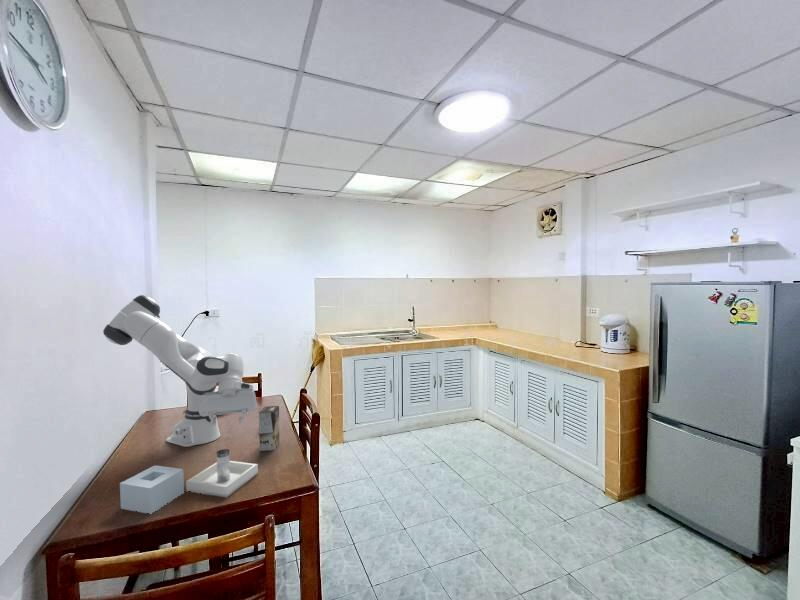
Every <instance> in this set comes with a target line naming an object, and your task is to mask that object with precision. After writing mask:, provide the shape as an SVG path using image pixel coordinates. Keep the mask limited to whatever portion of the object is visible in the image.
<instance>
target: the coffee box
mask: <svg viewBox="0 0 800 600" xmlns="http://www.w3.org/2000/svg"><path fill="white" fill-rule="evenodd" d="M258 429H259V432H258V434H259V436H258V437H259V439H258V441H259V451H260V452H261V451H265V452H266V451H275V450H276V449H277V446H278V445H279V444H280V442H281V441H280V440H281V439H280V438H281V434H280V431H281V429H280V405H270V406H264V407H263V408H262V409H261V410H260V411H259V412H258Z"/></svg>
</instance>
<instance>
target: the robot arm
mask: <svg viewBox="0 0 800 600" xmlns="http://www.w3.org/2000/svg"><path fill="white" fill-rule="evenodd" d="M160 312H161V308H160V306H159V304H158V303H157V301H156V300H155V299H154V298H152V297H150V296H146V295H144V294H143V295H142V294H140V295H138V296H136V297H134V298H132V301H130V302H128V303H127V304H126V305H125V306H124V307H123V308H122V309H121V310H119V312H118V313H117V314H116V315H115V316H114V317H113V319H112V320H111V321H110V322H109V323H108V324H106V325H105V327H104V329H103V331H102V333H103V335H104V337H105V338H106V339H107V340H108V341H109V342H110V343H111V344H114V345H119V346H124V345H128V344H130V343H131V342H133V339H134V341H136V342H137V343H139V344H140V345H141V346H143V347H144V348H146V349H147V350H149V352H150V353H152V354H153V355H154V356H155V357H156V358H157V359H158V360H159V361H160V362H161V363H162V364H163V365H164V366H165V367H166V368H167V369H169V370H170V371H171V372H172V373H173V374H175V375H176V376H177V377H179V378H180V379H181V380H182V381H183V382H184V383H185V388H186V396H187V408H186V409H185V410H183V411H182V415H183V414H185V415H184V418H182V419H181V420H180V421H178V422H177V423H176V424H174V427H173V428H172V434H171V435H170V436H168V437H167V438H166V442H167V443H170V444H173V445H178V446H181V447H184V448H185V447H186V448H187V447H193V446H196V445H203V444H208V443H210V442H213V441H216V440H217V439H219V438H220V437H221V433H220V428H219V424H218V419H217V416H221V415H231V414H239V413H242V415H240V416H238V423H239V424H240V423H241V424H242V423H244V418H245V417H246V416H247V414H248V413H249V412H250V413H251V412H255V411H256V410H257V409H258V402H257V398H256V397H257V396H256V392H255V389H254V385H253V384H251V383H247V382H243V377H244V361H243V358H242V357H241V356H240V355H239V354H238V353H237V354H236V353H235V352H234V353H232V352H230V353H226V354H224V355H221V356H215V355H214V353H212V351H211V352H210V351H208V350H207V349H205V348H203V347H201V346H199V345H197V344H195V343H193V342H192V341H189V340H187V339H186V338H185V337H182V335H180V334H179V333H177V332H175V330H174V329H172V327H170V326H169V325H168V324H166V323H165V322H164V321H162V320H160V317H161V316H160ZM217 384H218V385H217ZM217 386H218V387H217ZM216 389H217V391H218V392H217V391H216Z"/></svg>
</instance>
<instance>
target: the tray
mask: <svg viewBox="0 0 800 600" xmlns="http://www.w3.org/2000/svg"><path fill="white" fill-rule="evenodd" d="M258 466H259V464H258V463H250V462H243V461H236V460H235V461H234V460H230V480H229V481H227V482H224V483H219V482H217V461H216V462H215V463H212V465H210V466H208V467H206V468H205V469H203V470H202V471H200V472H199V473H197V474H196V475H193V476H192V477H190V478H189V479H187V480H186V481H185V484H186V485H185V486H186V489H185V490H186V492H188V491H191V492H190V493H194V492H195V493H197V494H200V493H201V494H202V495H208V496H213V497H219V498H220V497H221V498H228V497H230V496H231V495H232V494H233V493H235V492H236V491H237V490H239V489H241V487H242V486H244V485H245V484H247V483H248V482H249V481H250V480H252V479H253V478H255V476H257V475H258V474H259V467H258Z"/></svg>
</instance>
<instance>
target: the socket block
mask: <svg viewBox="0 0 800 600" xmlns="http://www.w3.org/2000/svg"><path fill="white" fill-rule="evenodd" d="M119 491H120V492H119V494H120V496H119V497H120V509H122V510H127V511H131V512H136V511H137V512H138V513H142V514H147V513H149V514H148V515H152V513H153V512H154V513H156V512H157V511H158V510H161V507H162V508H163V507H164V505H165V506H166V505H168V504H170V503H171V502H173V501H174V500H176V499H177V498H178V496H179V497H180V496H182V495H183V494H184V493H185V479H184V469H183V468H176V467H170V466H162V465H153V466H151V467H149V468H147V469H144V470H142V471H141V472H139V473H136V474H135V475H134V476H131V477H130V478H127V479H126V480H124V481H121V482H119ZM181 494H182V495H181ZM175 498H176V499H175ZM173 499H174V500H173ZM167 503H168V504H167ZM155 511H156V512H155ZM154 513H153V514H154Z"/></svg>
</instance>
